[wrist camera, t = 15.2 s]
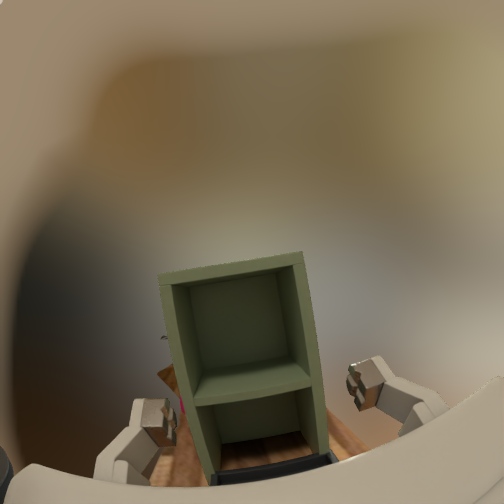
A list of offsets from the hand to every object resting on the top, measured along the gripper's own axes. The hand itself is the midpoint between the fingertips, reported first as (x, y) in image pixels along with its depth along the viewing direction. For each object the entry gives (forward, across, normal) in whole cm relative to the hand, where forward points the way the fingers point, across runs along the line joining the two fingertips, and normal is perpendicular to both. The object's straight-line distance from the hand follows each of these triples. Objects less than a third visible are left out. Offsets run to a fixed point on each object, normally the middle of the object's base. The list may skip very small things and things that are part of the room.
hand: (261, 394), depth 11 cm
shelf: (+9, 0, +25) cm, 27 cm away
